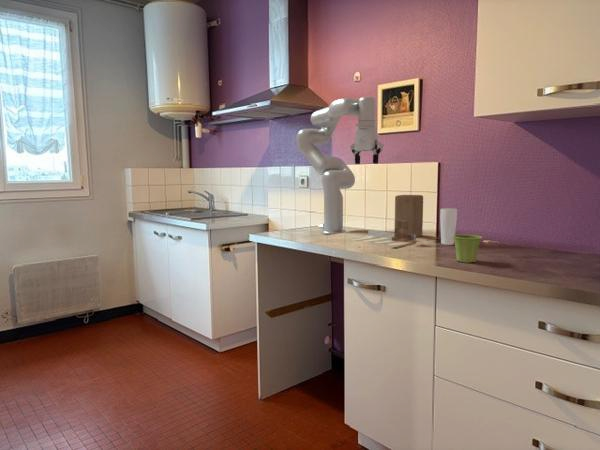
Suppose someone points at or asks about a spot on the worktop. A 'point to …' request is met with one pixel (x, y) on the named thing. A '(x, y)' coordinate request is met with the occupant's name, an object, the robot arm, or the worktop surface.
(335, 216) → the robot arm
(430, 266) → the worktop surface
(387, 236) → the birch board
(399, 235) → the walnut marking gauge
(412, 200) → the wooden block
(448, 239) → the drinking glass
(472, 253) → the plant pot
